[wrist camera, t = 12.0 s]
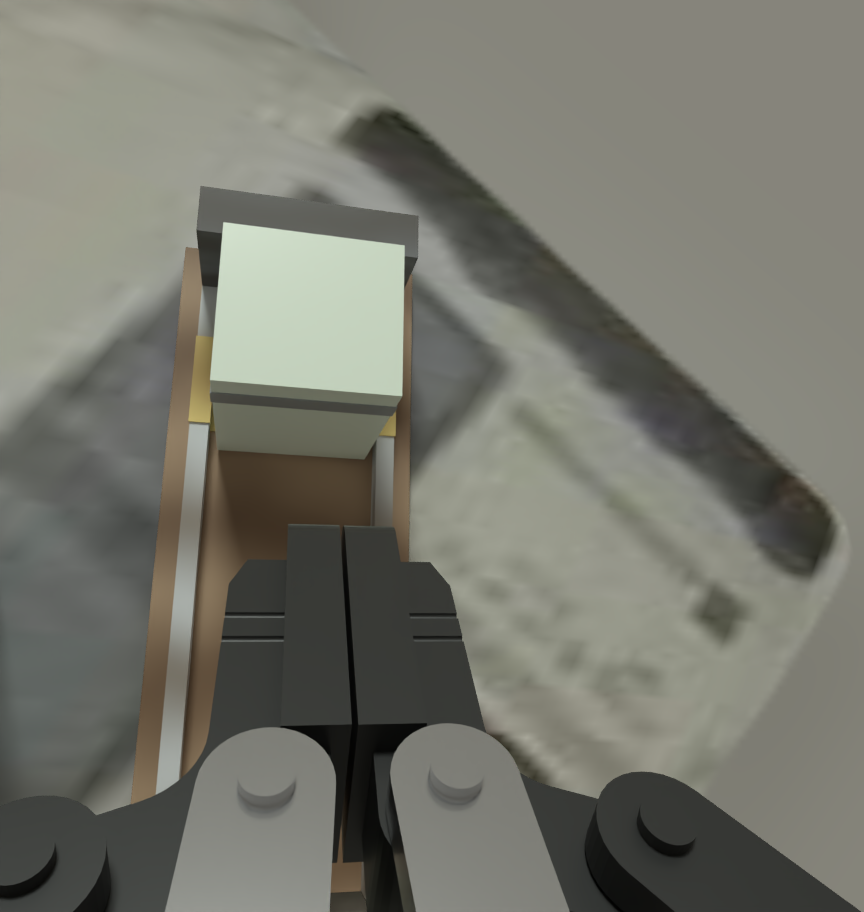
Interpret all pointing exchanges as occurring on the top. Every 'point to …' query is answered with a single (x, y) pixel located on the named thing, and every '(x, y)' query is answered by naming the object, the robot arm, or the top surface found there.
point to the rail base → (247, 492)
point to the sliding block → (306, 342)
